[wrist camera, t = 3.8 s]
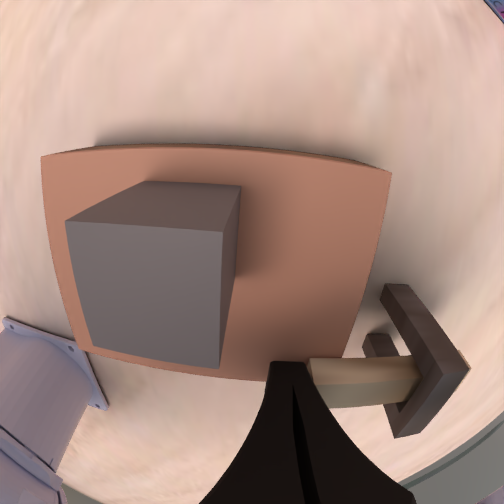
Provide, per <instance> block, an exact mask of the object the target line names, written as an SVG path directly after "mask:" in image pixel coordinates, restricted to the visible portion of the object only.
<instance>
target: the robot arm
mask: <svg viewBox="0 0 504 504" xmlns="http://www.w3.org/2000/svg"><path fill="white" fill-rule="evenodd" d="M2 322H3V325H4V327H5V329H4V330H3V331H2V332H1V333H0V504H67V499H66V496H65V493H64V491H63V490H62V488H61V487H60V486H61V484H62V481H63V479H62V478H60V477H59V476H58V475H56V474H55V473H56V471H57V469H58V467H59V464H60V462H61V460H62V457H63V455H64V453H65V451H66V448H67V446H68V444H69V442H70V440H71V438H72V435H73V433H74V431H75V429H76V427H77V425H78V423H79V421H80V419H81V417H82V415H83V413H84V411H85V409H86V407H87V405H90V406H92V407H95V408H98V409H101V410H105V411H106V410H108V408H109V406H108V404H107V402H106V400H105V398H104V396H103V394H102V391H101V389H100V387H99V385H98V383H97V380H96V378H95V376H94V373H93V371H92V368H91V366H90V363H89V361H88V358H87V356H86V353H85V351H83V350H80V349H79V348H78V345H77V343H76V342H75V341H71V340H68V339H65V338H61V337H58V336H55V335H52V334H49V333H46V332H43V331H40V330H37V329H35V328H32V327H29V326H26V325H24V324H21V323H19V322H16V321H14V320H11V319H9V318H6V317H4V318H3V319H2ZM199 504H416V500H415V498H414V495H413V494H412V493H411V492H410V491H408V490H407V489H405V488H404V487H402V486H401V485H399V484H398V483H397V482H395V481H394V480H392V479H391V478H390V477H389V476H387V475H386V474H385V473H384V472H382V471H381V470H380V469H379V468H378V467H377V466H376V465H375V464H374V463H373V462H372V461H370V460H369V459H368V458H367V457H366V456H365V455H364V454H363V453H362V452H361V451H360V449H359V448H358V447H357V446H356V445H355V444H354V443H353V442H352V440H351V439H350V438H349V437H348V436H347V434H346V433H345V432H344V430H343V429H342V428H341V426H340V425H339V423H338V422H337V421H336V419H335V418H334V416H333V415H332V413H331V412H330V410H329V408H328V407H327V405H326V403H325V402H324V400H323V398H322V397H321V395H320V393H319V391H318V389H317V388H316V386H315V384H314V382H313V380H312V378H311V376H310V374H309V371H308V369H307V367H306V364H305V363H304V362H294V361H272V362H270V365H269V371H268V376H267V381H266V387H265V394H264V399H263V402H262V405H261V407H260V410H259V412H258V414H257V417H256V419H255V421H254V424H253V426H252V428H251V430H250V432H249V434H248V436H247V438H246V440H245V441H244V443H243V445H242V447H241V448H240V450H239V452H238V453H237V455H236V457H235V458H234V460H233V461H232V463H231V464H230V466H229V467H228V469H227V470H226V471H225V473H224V474H223V475H222V477H221V478H220V479H219V481H218V482H217V483H216V485H215V486H214V487H213V488H212V489H211V491H210V492H209V493H208V494H207V495H206V496H205V497H204V499H203V500H202V501H201V502H200V503H199ZM475 504H504V485H503V486H502V487H500V488H499V489H497V490H496V491H494V492H493V493H491V494H490V495H488V496H487V497H485V498H483V499H482V500H480V501H479V502H477V503H475Z"/></svg>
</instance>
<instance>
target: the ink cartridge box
mask: <svg viewBox="0 0 504 504" xmlns="http://www.w3.org/2000/svg"><path fill="white" fill-rule="evenodd" d="M484 1H485V2H486V3H487V4H488V5H489V6H490V7H491V8H492V10H493V11H494V12H495V13H496V14H497V15H498V17H499V18H500V19H501V20H502V22H503V23H504V0H484Z"/></svg>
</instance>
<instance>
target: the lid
mask: <svg viewBox="0 0 504 504" xmlns="http://www.w3.org/2000/svg"><path fill="white" fill-rule="evenodd" d="M41 175H42V189H43V200H44V209H45V217H46V224H47V231H48V237H49V243H50V248H51V253H52V258H53V263H54V268H55V272H56V276H57V280H58V284H59V288H60V292H61V296H62V299H63V303H64V306H65V310H66V313H67V316H68V319H69V322H70V325H71V328H72V331H73V334H74V337H75V340H76V343H77V345H78V348H79V349H80V350H83V351H87V352H90V353H94V354H97V355H101V356H105V357H109V358H113V359H117V360H121V361H125V362H130V363H134V364H139V365H144V366H149V367H154V368H159V369H164V370H170V371H176V372H182V373H189V374H195V375H203V376H211V377H219V378H228V379H239V380H250V381H265V382H266V381H267V376H268V371H269V365H270V362H272V361H294V362H304V363H305V364H306V367H307V365H308V362H309V358H342V355H343V353H344V350H345V347H346V345H347V342H348V339H349V337H350V334H351V331H352V328H353V325H354V322H355V319H356V316H357V313H358V310H359V307H360V304H361V301H362V298H363V294H364V291H365V288H366V285H367V281H368V278H369V274H370V271H371V267H372V263H373V259H374V256H375V252H376V248H377V244H378V240H379V235H380V231H381V227H382V222H383V218H384V213H385V208H386V203H387V198H388V192H389V187H390V181H391V175H392V173H391V172H388V171H385V170H382V169H378V168H373V167H368V166H363V165H357V164H352V163H346V162H340V161H334V160H328V159H321V158H314V157H307V156H299V155H291V154H282V153H272V152H262V151H250V150H236V149H220V148H194V147H139V148H114V149H98V150H85V151H74V152H65V153H56V154H50V155H46V156H41Z"/></svg>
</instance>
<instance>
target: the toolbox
mask: <svg viewBox="0 0 504 504" xmlns="http://www.w3.org/2000/svg"><path fill="white" fill-rule="evenodd" d="M139 147H194V148H220V149H236V150H250V151H262V152H272V153H282V154H291V155H299V156H307V157H314V158H321V159H328V160H334V161H340V162H346V163H352V164H357V165H363V166H368V167H373V168H377V167H374V166H371V165H367V164H364V163H361V162H358V161H355V160H350V159H344V158H338V157H332V156H326V155H319V154H312V153H305V152H297V151H289V150H280V149H270V148H259V147H247V146H232V145H213V144H127V145H109V146H95V147H87V148H81V149H76V150H70V151H65V152H74V151H85V150H98V149H114V148H139ZM65 152H60V153H65ZM55 154H56V153H55ZM378 169H379V168H378ZM380 301H381V303H382V304H383V306H384V307H385V309H386V311H387V312H388V314H389V316H390V318H391V319H392V321H393V323H394V324H395V326H396V328H397V330H398V331H399V333H400V335H401V337H402V338H403V340H404V342H405V344H406V345H407V347H408V349H409V351H410V353H411V355H412V356H413V358H414V360H415V362H416V364H417V366H418V368H419V370H420V372H421V374H422V375H423V377H424V379H423V380H422V382H421V383H420V385H419V386H418V388H417V389H416V391H415V392H414V394H413V395H412V397H411V398H410V400H409V401H403V402H396V403H388V404H383V406H384V408H385V411H386V414H387V417H388V420H389V424H390V427H391V430H392V433H393V436H394V439H395V438H400V437H405V436H409V435H414V434H418V433H420V432H421V431H422V430H423V429H424V428H425V427H426V426H427V425H428V424H429V422H430V421H431V420H432V419H433V418H434V417H435V415H436V414H437V413H438V412H439V410H440V409H441V408H442V407H443V406H444V404H445V403H446V402H447V400H448V399H449V398H450V397H451V395H452V394H453V393H454V391H455V390H456V388H457V387H458V386H459V384H460V383H461V381H462V380H463V379H464V377H465V376H466V374H467V373H468V371H469V370H470V369H469V367H468V366H467V364H466V363H465V361H464V360H463V358H462V357H461V355H460V354H459V352H458V351H457V349H456V348H455V346H454V345H453V344H452V342H451V341H450V339H449V338H448V336H447V335H446V334H445V332H444V331H443V329H442V328H441V327H440V325H439V324H438V323H437V321H436V320H435V319H434V317H433V316H432V315H431V313H430V312H429V311H428V309H427V308H426V307H425V306H424V304H423V303H422V302H421V300H420V299H419V298H418V297H417V295H416V294H415V293H414V292H413V290H412V289H411V288H410V287H409V285H401V284H385V286H384V289H383V292H382V295H381V298H380ZM362 348H363V351H364V354H365V356H366V358H374V357H394V356H400V355H399V353H398V351H397V349H396V347H395V345H394V343H393V341H392V339H391V337H390V335H389V334H367V336H366V339H365V341H364V344H363V346H362Z"/></svg>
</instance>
